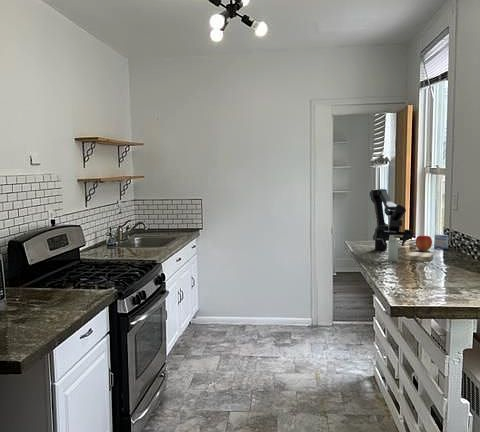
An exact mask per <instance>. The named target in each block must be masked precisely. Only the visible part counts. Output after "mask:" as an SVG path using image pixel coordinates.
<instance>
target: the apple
mask: <svg viewBox="0 0 480 432" xmlns="http://www.w3.org/2000/svg"><path fill="white" fill-rule="evenodd" d="M432 244H433V240H432V236H429V235H417V237H416V239H415V247H416V248H417V249H418V251H420V252H428V251H429V250H430V249H431V248H432Z"/></svg>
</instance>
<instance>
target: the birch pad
mask: <svg viewBox="0 0 480 432" xmlns="http://www.w3.org/2000/svg"><path fill="white" fill-rule="evenodd" d="M404 257H405V258H404V259H405V260H409V261H417V262H418V261H420V262H429V261H430V262H431V261H433V259H434V253H431V252H423V251H420V252H419V251H408V252H407V253H406V254H405V256H404Z"/></svg>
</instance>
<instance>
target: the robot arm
mask: <svg viewBox="0 0 480 432" xmlns="http://www.w3.org/2000/svg"><path fill="white" fill-rule="evenodd" d="M369 197H370V201H372V203H373V204H374V211H375V212H374V213H375V219H376V227H375V229H374V234H373V235H372V240H373V241H374V249H373V251H382V252H386V251H388V242H389V239H390V238H391V237H390V236H395V237H396V236H398V237H399V236H402V241H401V247H403V246H404V245H405V243H406V242H407V241H409V240H411V239H412V237H413V236H412V234H413V233H412V232H413V231H412V229H403V231H401V230H400V229H401V227H403V219H402V218H403V216H404V215H405V214H406V211H407V210H406V208H405V207H404V206H403V205H402V204H399V203H398V204H396V203H394V202H393V201H392V199H391V197H390V195H389V193H388V190H387V189H386V188H379V189H371V191H369ZM383 206H384V208H383ZM385 215H386V216H387V217H388V216H389V225H386V222H385ZM387 241H388V242H387Z"/></svg>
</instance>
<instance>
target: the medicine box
mask: <svg viewBox="0 0 480 432" xmlns="http://www.w3.org/2000/svg"><path fill="white" fill-rule="evenodd" d="M448 247H449V234H448V235H447V234H434V243H433V248H434V249H437V248H442V249H441V250H448Z"/></svg>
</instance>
